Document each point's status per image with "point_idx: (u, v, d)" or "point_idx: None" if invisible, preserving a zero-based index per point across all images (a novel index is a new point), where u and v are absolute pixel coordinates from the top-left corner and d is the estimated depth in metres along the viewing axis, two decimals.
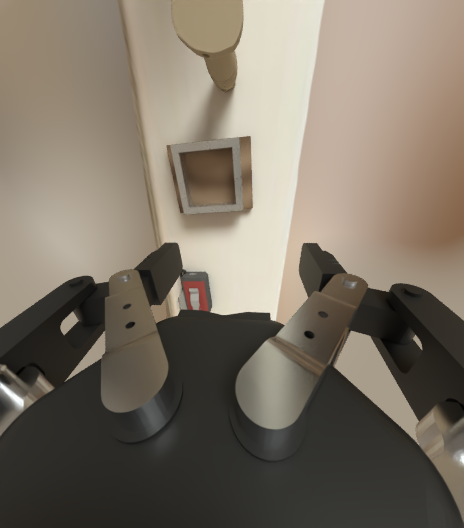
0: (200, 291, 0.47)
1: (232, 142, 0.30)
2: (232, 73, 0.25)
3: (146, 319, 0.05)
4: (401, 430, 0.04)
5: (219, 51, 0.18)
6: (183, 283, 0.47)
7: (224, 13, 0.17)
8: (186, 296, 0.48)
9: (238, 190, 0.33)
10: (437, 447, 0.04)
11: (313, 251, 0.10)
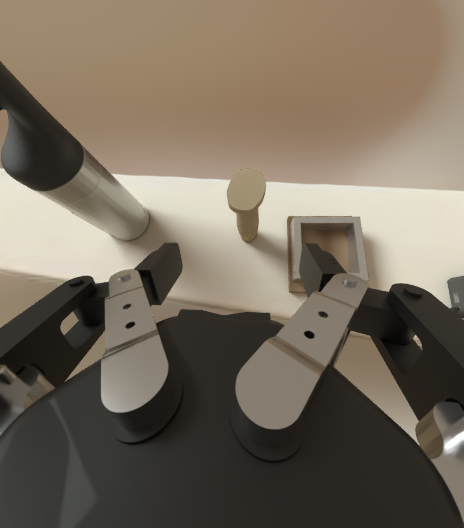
0: None
1: (297, 222, 0.34)
2: None
3: (145, 319, 0.05)
4: (401, 430, 0.04)
5: (265, 182, 0.25)
6: None
7: (248, 178, 0.25)
8: None
9: (339, 220, 0.33)
10: (437, 447, 0.04)
11: (313, 251, 0.10)
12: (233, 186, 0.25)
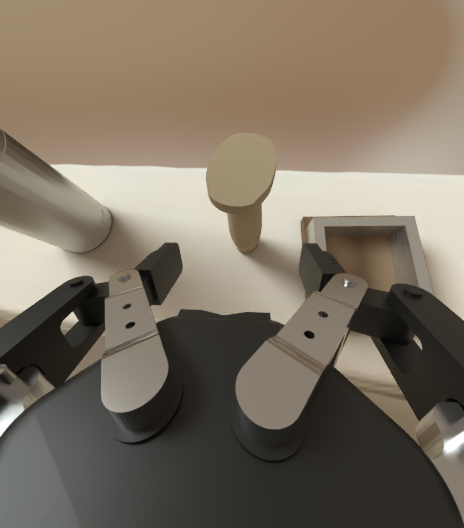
0: None
1: (318, 225, 0.23)
2: None
3: (145, 319, 0.05)
4: (401, 430, 0.04)
5: (275, 156, 0.14)
6: None
7: (244, 150, 0.14)
8: None
9: (383, 221, 0.22)
10: (437, 447, 0.04)
11: (313, 251, 0.10)
12: (217, 163, 0.14)
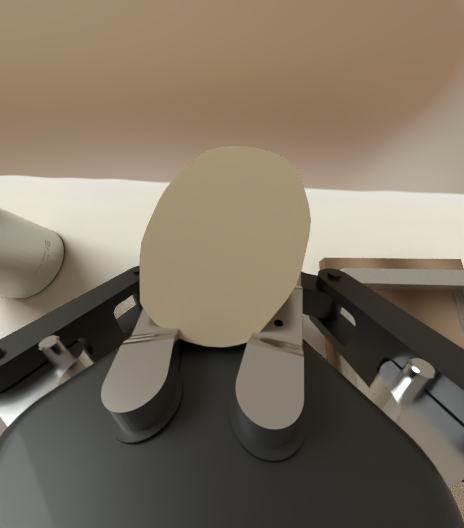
0: None
1: None
2: None
3: None
4: (401, 430, 0.04)
5: (308, 205, 0.06)
6: None
7: (233, 186, 0.06)
8: None
9: (455, 278, 0.14)
10: (393, 407, 0.04)
11: None
12: (169, 219, 0.06)
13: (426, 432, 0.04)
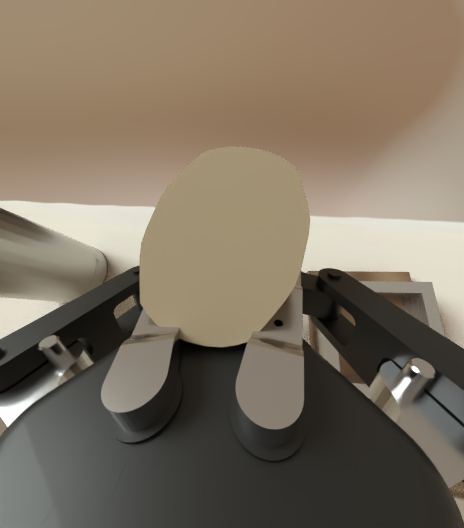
0: None
1: None
2: None
3: None
4: (401, 430, 0.04)
5: (307, 205, 0.06)
6: None
7: (232, 187, 0.06)
8: None
9: (396, 287, 0.20)
10: (393, 407, 0.04)
11: None
12: (169, 219, 0.06)
13: (425, 432, 0.04)
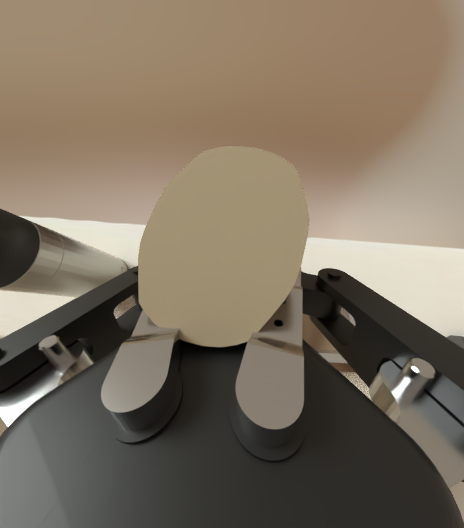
0: None
1: None
2: None
3: None
4: (401, 430, 0.04)
5: (306, 205, 0.06)
6: None
7: (231, 186, 0.06)
8: None
9: None
10: (393, 407, 0.04)
11: None
12: (168, 219, 0.06)
13: (425, 432, 0.04)
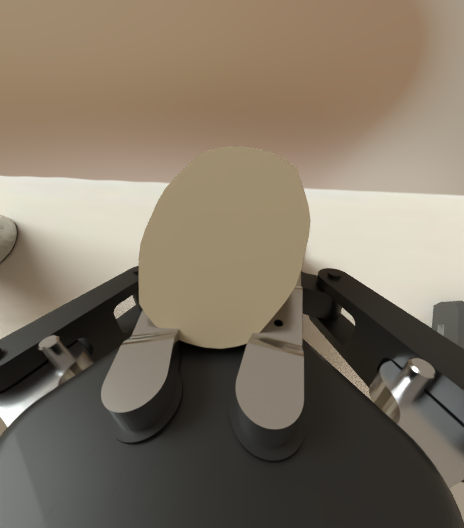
0: None
1: None
2: None
3: None
4: (401, 430, 0.04)
5: (307, 206, 0.06)
6: None
7: (232, 186, 0.06)
8: None
9: None
10: (393, 407, 0.04)
11: None
12: (168, 219, 0.06)
13: (426, 432, 0.04)
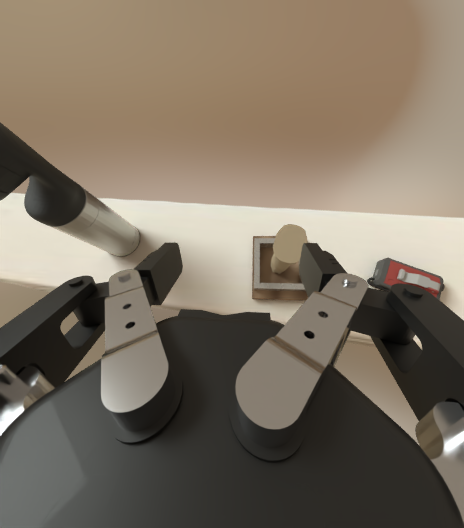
0: (404, 269, 0.39)
1: (257, 242, 0.42)
2: None
3: (146, 319, 0.05)
4: (401, 430, 0.04)
5: (306, 238, 0.29)
6: (387, 284, 0.39)
7: (291, 233, 0.29)
8: None
9: None
10: (437, 447, 0.04)
11: (313, 251, 0.10)
12: (278, 240, 0.29)
13: None
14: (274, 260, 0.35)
